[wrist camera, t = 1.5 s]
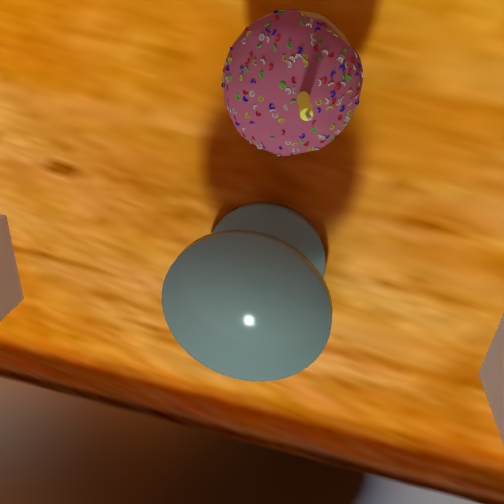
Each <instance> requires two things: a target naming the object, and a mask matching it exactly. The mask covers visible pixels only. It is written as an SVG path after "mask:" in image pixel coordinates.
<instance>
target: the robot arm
mask: <svg viewBox="0 0 504 504" xmlns="http://www.w3.org/2000/svg"><path fill="white" fill-rule="evenodd" d="M23 299H24V298H23V294H22V289H21V284H20V279H19V275H18V270H17V265H16V260H15V256H14V251H13V246H12V241H11V236H10V232H9V227H8V222H7V217H6V215H0V321H1V320H2V319H3V318H4V317H5V316H6V315H7V314H8V313H9V312H10V311H11V310H12V309H13V308H15V307H16V306H17V305H18V304H19V303H20V302H21V301H22V300H23ZM479 376H480V379H481V382H482V385H483V387H484V390H485V393H486V396H487V399H488V402H489V405H490V407H491V410H492V413H493V416H494V419H495V422H496V424H497V427H498V430H499V433H500V436H501V439H502V441H503V444H504V314H503V317H502V319H501V321H500V324H499V326H498V328H497V331H496V333H495V336H494V338H493V340H492V343H491V345H490V347H489V350H488V352H487V355H486V357H485V359H484V362H483V364H482V366H481V369H480V371H479Z"/></svg>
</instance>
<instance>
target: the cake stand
mask: <svg viewBox="0 0 504 504" xmlns="http://www.w3.org/2000/svg"><path fill="white" fill-rule="evenodd" d="M325 267H326V252H325V248H324V244H323V241H322V239H321V237H320V235H319V233H318V232H317V230H316V229H315V228H314V226H313V225H312V224H311V223H310V222H309V221H308V220H307V219H306V218H305V217H304V216H302V215H301V214H300V213H298V212H296V211H295V210H293V209H291V208H288V207H286V206H283V205H280V204H276V203H270V202H255V203H249V204H245V205H242V206H239V207H237V208H235V209H233V210H232V211H230V212H229V213H227V214H226V215H225V216H224V217H223V218H222V219H221V220H220V222H219V223H218V224H217V226H216V227H215V228H214V230H213V232H212V234H209V235H206V236H204V237H202V238H200V239H198V240H196V241H194V242H193V243H192V244H190V245H189V246H188V247H187V248H185V249H184V250H183V251H182V252H181V254H180V255H179V256H178V258H177V259H176V260H175V262H174V263H173V264H172V266H171V267H170V269H169V271H168V273H167V274H166V277H165V280H164V283H163V289H162V307H163V312H164V316H165V319H166V322H167V324H168V327H169V329H170V331H171V332H172V334H173V336H174V337H175V339H176V340H177V341H178V343H179V344H180V345H181V346H182V347H183V348H184V350H185V351H186V352H187V353H188V354H190V355H191V356H192V357H193V358H194V359H196V360H197V361H198V362H200V363H201V364H203V365H204V366H206V367H208V368H210V369H211V370H213V371H215V372H218V373H220V374H222V375H225V376H228V377H231V378H235V379H240V380H246V381H261V382H263V381H273V380H279V379H283V378H286V377H289V376H292V375H294V374H296V373H298V372H300V371H302V370H303V369H305V368H307V367H308V366H309V365H310V364H312V363H313V362H314V361H315V360H316V359H317V357H318V356H319V355H320V354H321V352H322V351H323V349H324V347H325V346H326V343H327V341H328V338H329V335H330V330H331V323H332V301H331V296H330V293H329V289H328V287H327V285H326V282H325V280H324V279H323V278H324V273H325Z"/></svg>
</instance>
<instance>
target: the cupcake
mask: <svg viewBox="0 0 504 504" xmlns="http://www.w3.org/2000/svg"><path fill="white" fill-rule="evenodd" d="M362 81H363V71H362V65H361V61H360V58H359V55H358V53H357V52H356V50H355V49H354V48H352V47H351V45H350V43H349V41H348V39H347V38H346V36H345V35H344V34H343V33H342V32H341V31H340V30H339V29H338V28H337V27H336V26H335V25H334V24H333V23H332V22H331V21H329V20H328V19H327V18H326V17H324V16H322V15H320V14H318V13H314V12H309V11H297V10H293V9H290V10H278V11H277V10H275V11H274V12H273V13H270V14H267V15H265V16H263V17H261V18H259V19H257V20H256V21H254V22H253V23H252V24H250V25H249V26H248V27H246V29H245V30H244V31H243V32H242V34H241V35H240V36H239V37H238V39H237V40H236V41H235V42H234V44H233V45H232V47H230V51H229V53H228V56H227V59H226V61H225V65H224V69H223V77H222V82H223V83H222V87H223V91H224V100H225V104H226V108H227V111H228V113H229V115H230V117H231V119H232V121H233V123H234V125H235V127H236V129H237V131H238V132H239V133H240V135H241V136H242V137H244V138H245V139H246V140H248V141H249V142H250V144H252V143H253V144H254V145H256V146H257V148H258V149H264V150H266V151H269V152H271V153H274V154H277V155H276V156H280V155H281V156H290V155H292V156H293V155H295V154H300V153H305V152H310V151H314V150H319V149H320V148H322V147H324V146H326V145H327V144H328V143H330V142H331V141H332V140H333V139H335V138H336V137H337V136H338V135H339V134H340V133H341V132H342V130H343V129H344V128H345V127H346V125H347V124H348V122H349V121H350V119H351V117H352V115H353V113H354V111H355V109H356V106H357V105H358V104H359V97H360V91H361V87H362ZM259 147H260V148H259Z"/></svg>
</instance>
